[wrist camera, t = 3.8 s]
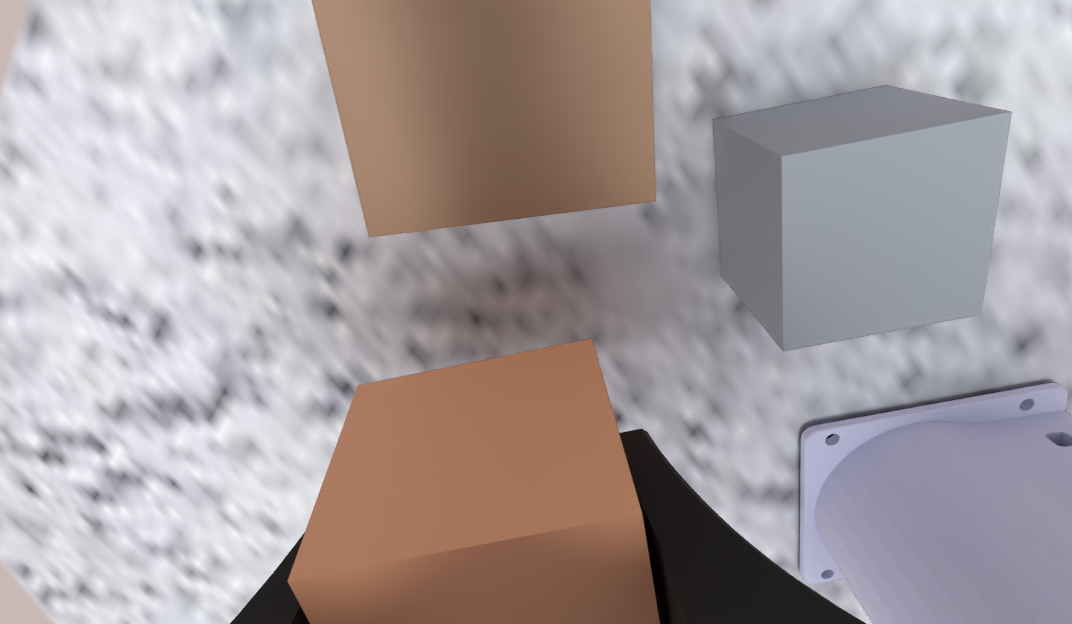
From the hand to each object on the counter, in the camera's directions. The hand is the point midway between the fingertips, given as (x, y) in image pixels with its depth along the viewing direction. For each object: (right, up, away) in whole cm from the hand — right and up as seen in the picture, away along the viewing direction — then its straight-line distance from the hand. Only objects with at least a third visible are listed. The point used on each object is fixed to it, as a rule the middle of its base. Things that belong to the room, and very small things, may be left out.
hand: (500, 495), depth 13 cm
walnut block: (0, +11, +4) cm, 12 cm away
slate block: (+9, +8, +6) cm, 13 cm away
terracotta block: (0, 0, +1) cm, 2 cm away
